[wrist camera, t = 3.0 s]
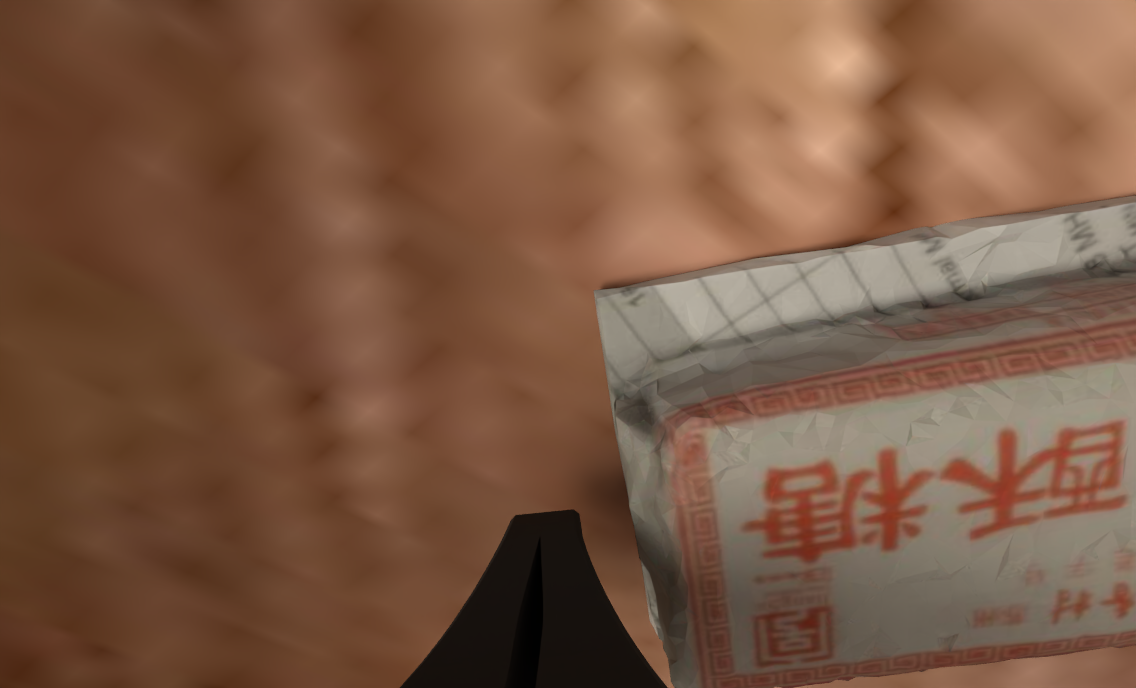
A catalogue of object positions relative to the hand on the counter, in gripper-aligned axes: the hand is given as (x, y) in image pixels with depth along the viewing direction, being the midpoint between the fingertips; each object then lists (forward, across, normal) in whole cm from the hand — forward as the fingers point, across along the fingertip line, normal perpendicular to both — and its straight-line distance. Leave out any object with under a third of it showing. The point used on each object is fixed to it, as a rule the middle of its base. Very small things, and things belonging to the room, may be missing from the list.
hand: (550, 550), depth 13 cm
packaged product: (+3, -11, 0) cm, 11 cm away
